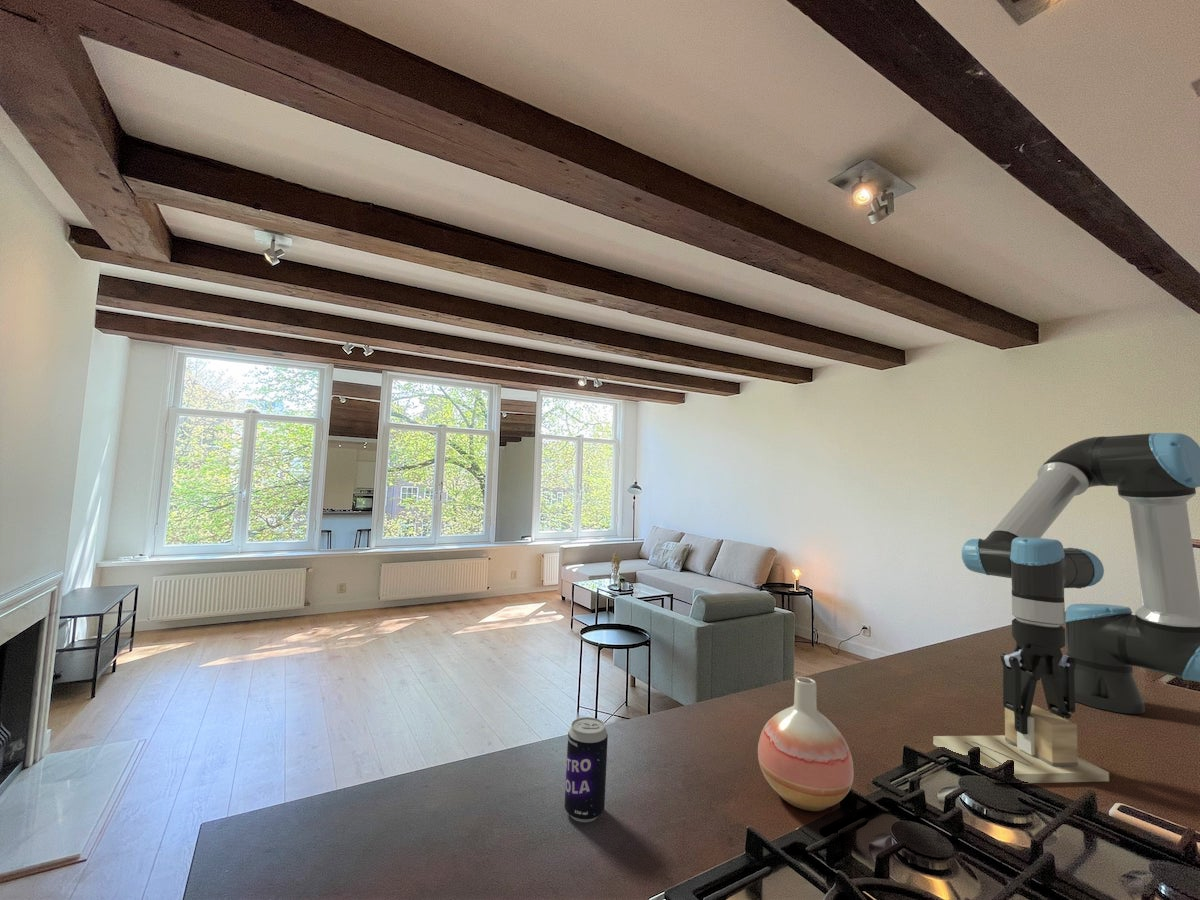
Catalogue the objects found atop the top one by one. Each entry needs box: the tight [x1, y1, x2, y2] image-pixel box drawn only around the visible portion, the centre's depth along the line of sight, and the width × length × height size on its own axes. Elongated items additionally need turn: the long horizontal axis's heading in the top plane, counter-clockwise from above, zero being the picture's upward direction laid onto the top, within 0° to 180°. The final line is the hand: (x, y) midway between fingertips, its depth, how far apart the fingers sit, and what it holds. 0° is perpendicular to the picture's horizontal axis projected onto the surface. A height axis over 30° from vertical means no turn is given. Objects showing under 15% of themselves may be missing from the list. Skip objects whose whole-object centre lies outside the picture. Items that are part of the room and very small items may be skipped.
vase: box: [757, 676, 855, 812], centre depth 78 cm, size 14×14×18 cm
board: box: [932, 734, 1110, 784], centre depth 92 cm, size 22×13×2 cm, turn 97°
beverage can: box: [563, 717, 609, 823], centre depth 72 cm, size 6×6×12 cm
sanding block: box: [1004, 704, 1079, 766], centre depth 93 cm, size 9×5×7 cm, turn 7°
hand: (1039, 750), depth 93 cm, fingers closed on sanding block, 5 cm apart
